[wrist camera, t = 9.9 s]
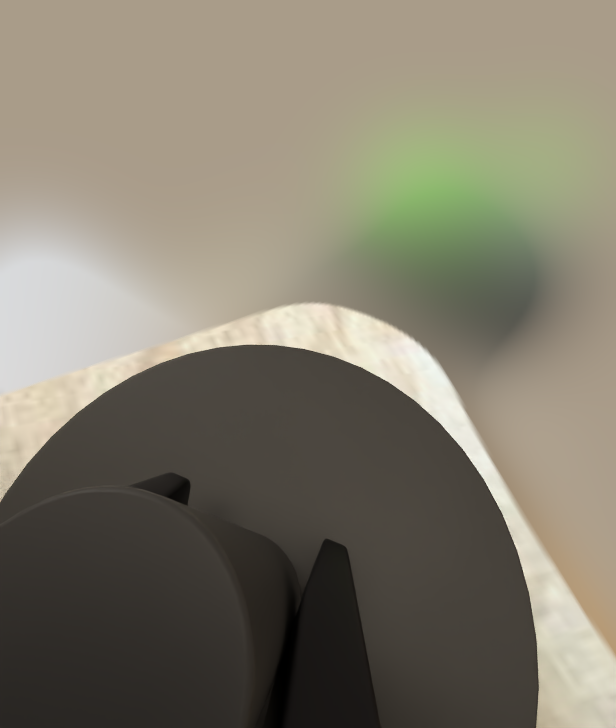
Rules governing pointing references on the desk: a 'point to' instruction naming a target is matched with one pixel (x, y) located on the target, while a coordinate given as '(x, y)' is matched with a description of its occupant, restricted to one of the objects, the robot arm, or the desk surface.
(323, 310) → the desk surface
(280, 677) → the robot arm
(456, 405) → the desk surface
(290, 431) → the lid
